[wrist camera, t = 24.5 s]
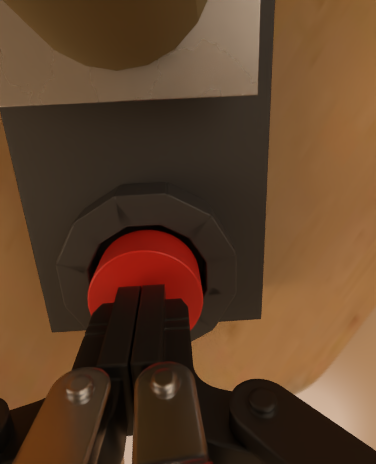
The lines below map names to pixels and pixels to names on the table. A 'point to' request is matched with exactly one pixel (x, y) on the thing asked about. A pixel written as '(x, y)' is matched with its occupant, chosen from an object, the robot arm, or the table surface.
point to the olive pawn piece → (111, 28)
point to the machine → (148, 189)
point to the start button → (148, 270)
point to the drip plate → (138, 78)
